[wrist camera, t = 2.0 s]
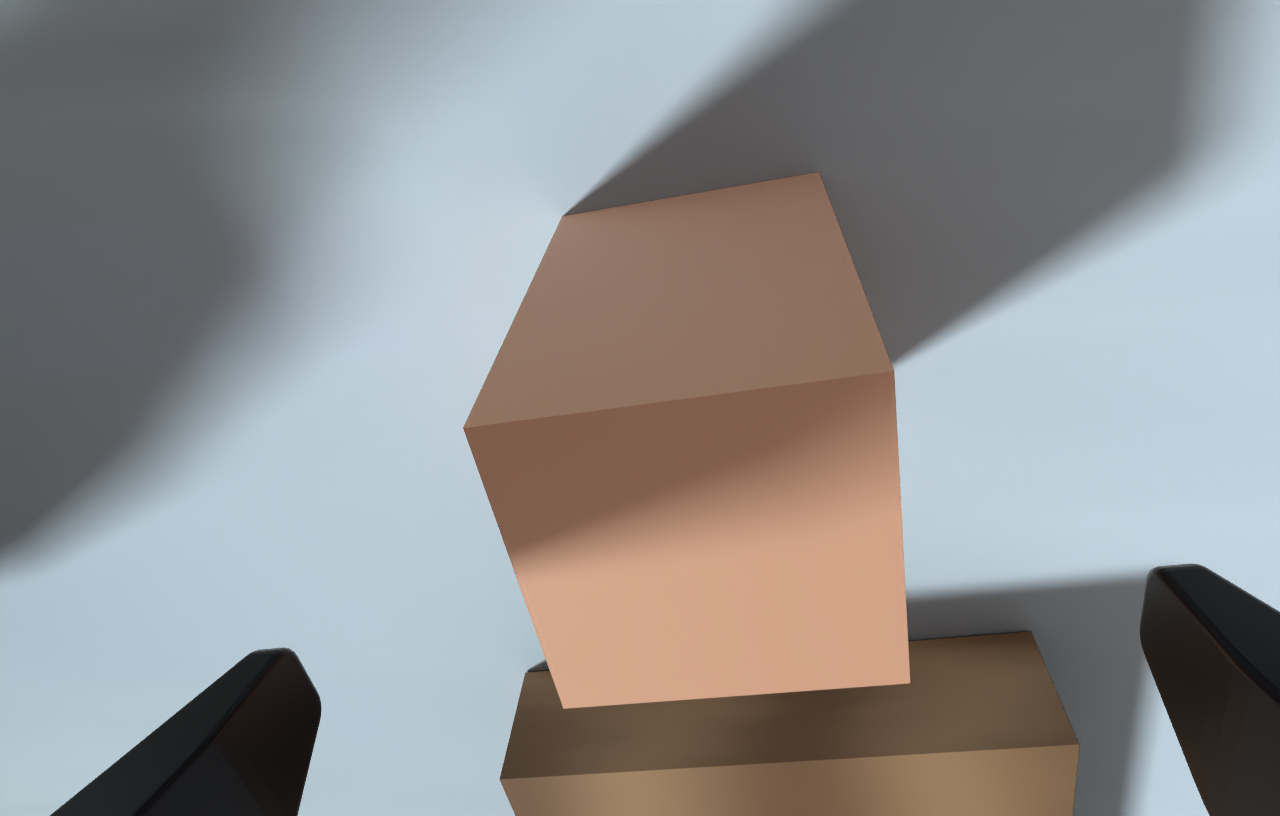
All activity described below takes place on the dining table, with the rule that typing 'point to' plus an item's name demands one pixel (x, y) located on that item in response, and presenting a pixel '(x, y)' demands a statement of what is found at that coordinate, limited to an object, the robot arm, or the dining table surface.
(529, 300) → the terracotta block
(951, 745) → the walnut base
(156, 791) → the robot arm
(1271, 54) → the dining table surface
